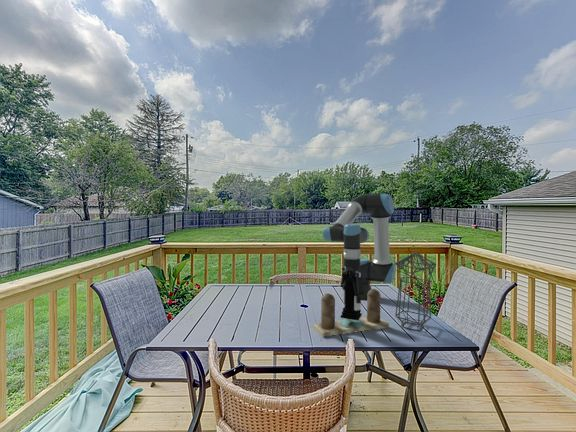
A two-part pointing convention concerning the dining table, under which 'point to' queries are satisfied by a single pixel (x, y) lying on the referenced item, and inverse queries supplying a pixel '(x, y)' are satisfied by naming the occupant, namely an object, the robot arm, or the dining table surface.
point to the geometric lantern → (419, 288)
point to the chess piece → (350, 299)
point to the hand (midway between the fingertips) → (351, 306)
